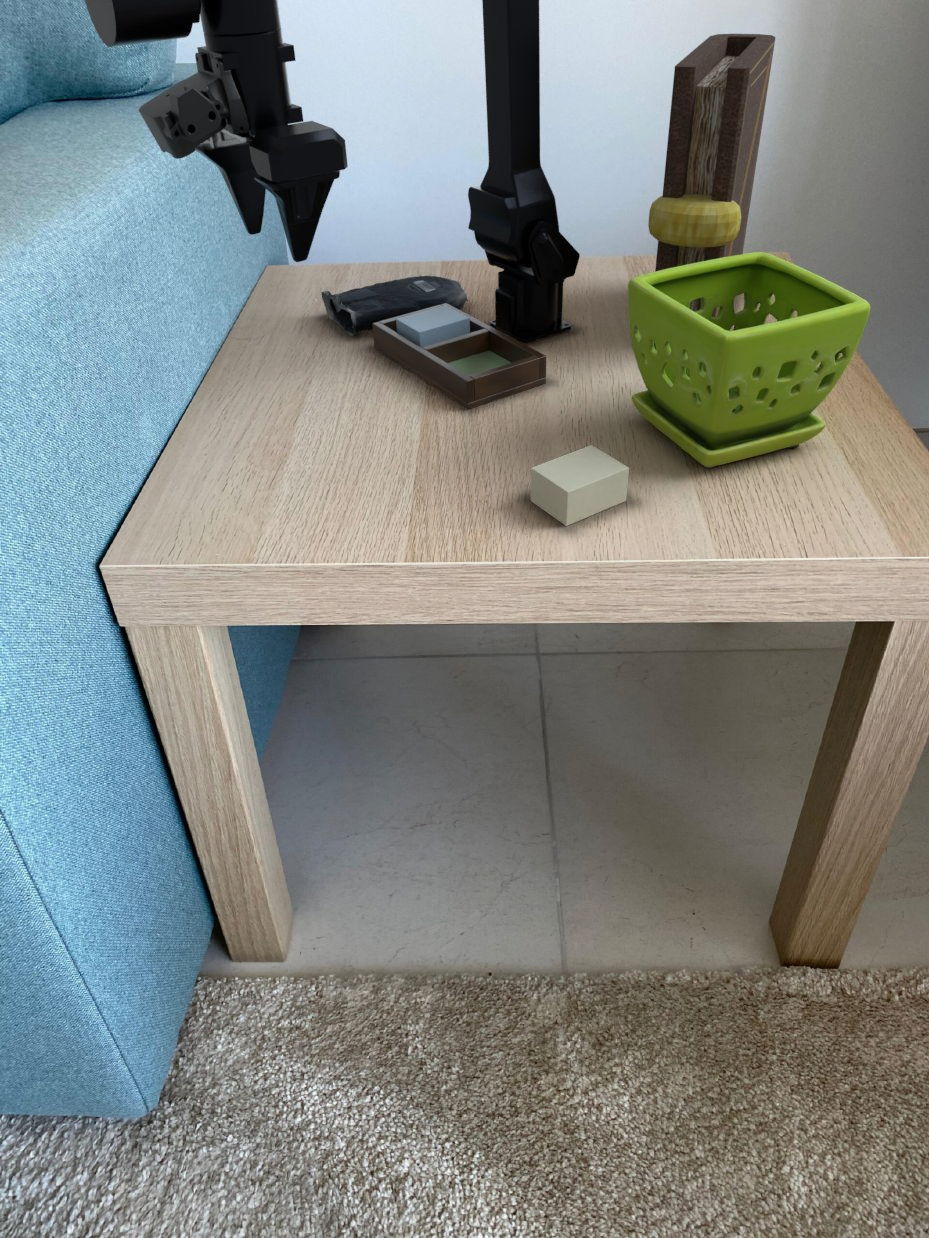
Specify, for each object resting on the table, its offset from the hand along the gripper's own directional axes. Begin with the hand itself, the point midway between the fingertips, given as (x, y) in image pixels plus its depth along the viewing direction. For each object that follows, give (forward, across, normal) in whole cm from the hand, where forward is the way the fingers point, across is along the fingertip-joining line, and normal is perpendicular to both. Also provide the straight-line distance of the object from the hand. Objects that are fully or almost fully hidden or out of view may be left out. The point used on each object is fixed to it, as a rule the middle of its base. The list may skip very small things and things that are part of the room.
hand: (276, 246), depth 79 cm
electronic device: (+15, -13, +19) cm, 27 cm away
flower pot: (+15, +28, +27) cm, 41 cm away
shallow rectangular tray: (+14, +2, +16) cm, 22 cm away
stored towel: (+14, -2, +16) cm, 22 cm away
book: (+15, +8, +43) cm, 46 cm away
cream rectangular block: (+14, +29, +10) cm, 34 cm away
